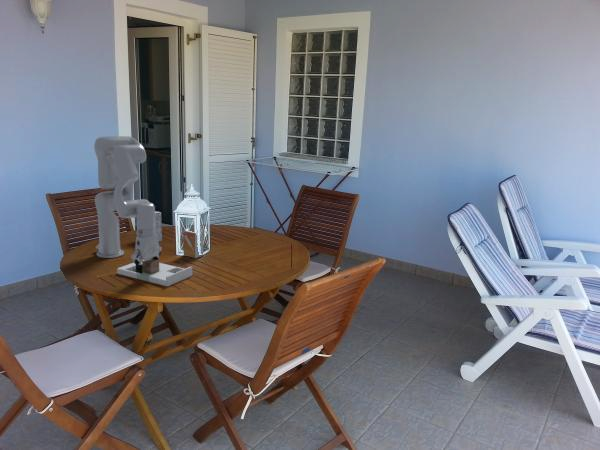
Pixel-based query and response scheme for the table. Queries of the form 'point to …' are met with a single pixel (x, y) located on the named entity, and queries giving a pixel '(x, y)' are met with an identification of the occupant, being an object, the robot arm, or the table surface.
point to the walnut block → (150, 266)
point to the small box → (191, 244)
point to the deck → (158, 274)
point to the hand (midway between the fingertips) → (147, 269)
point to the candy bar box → (158, 225)
